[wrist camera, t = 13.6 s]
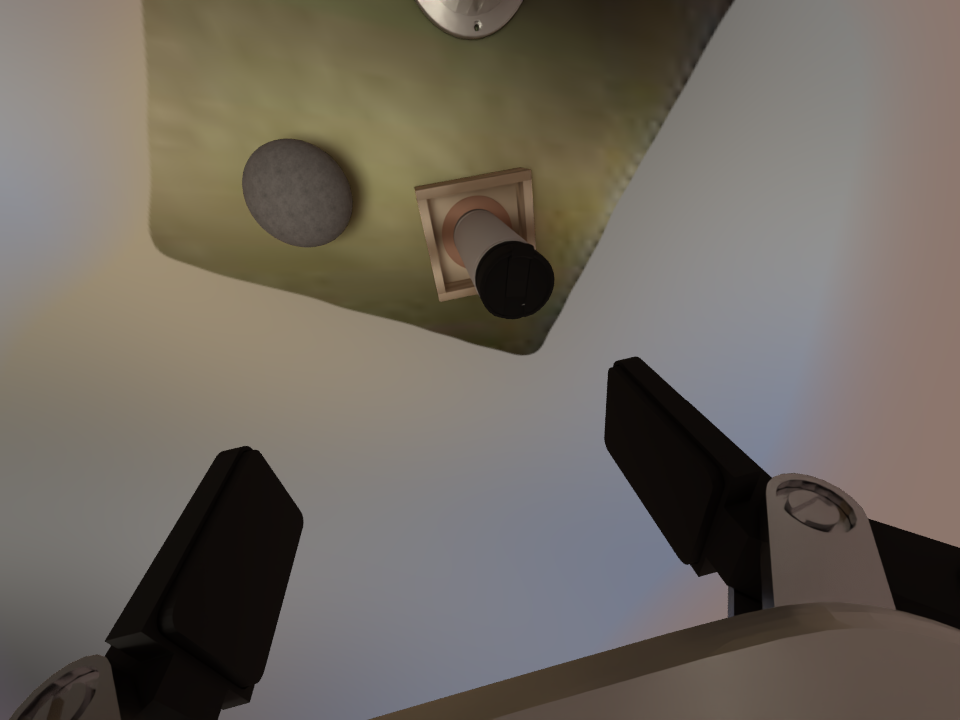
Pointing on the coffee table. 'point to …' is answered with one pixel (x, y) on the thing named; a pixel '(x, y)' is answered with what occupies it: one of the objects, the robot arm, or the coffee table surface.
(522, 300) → the travel mug
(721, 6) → the coffee table surface
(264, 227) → the decorative ball
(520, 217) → the open box
